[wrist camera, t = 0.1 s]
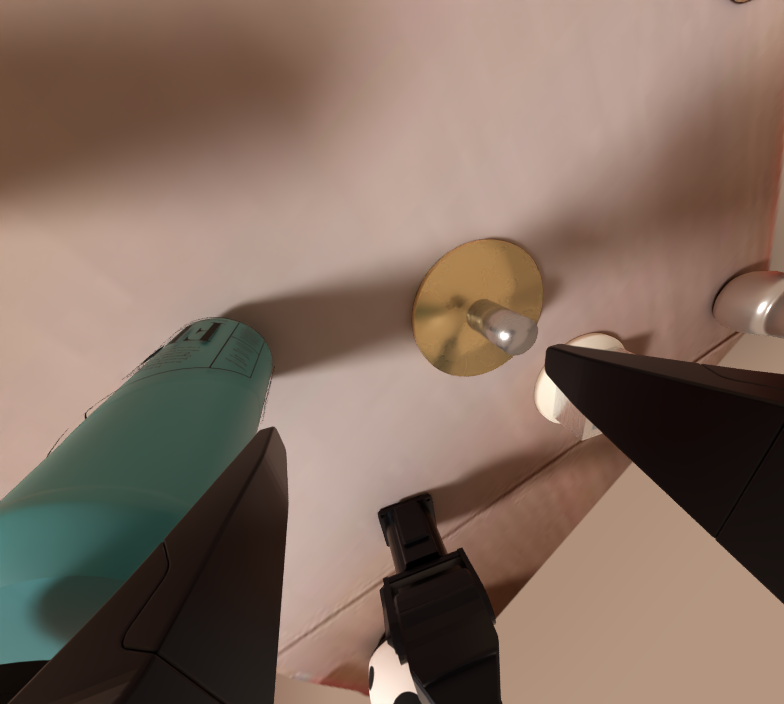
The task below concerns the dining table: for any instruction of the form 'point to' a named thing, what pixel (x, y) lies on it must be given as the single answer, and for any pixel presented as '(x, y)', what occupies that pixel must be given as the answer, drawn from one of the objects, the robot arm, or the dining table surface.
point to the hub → (478, 307)
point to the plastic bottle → (753, 304)
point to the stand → (545, 385)
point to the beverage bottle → (122, 487)
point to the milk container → (390, 678)
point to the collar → (576, 412)
